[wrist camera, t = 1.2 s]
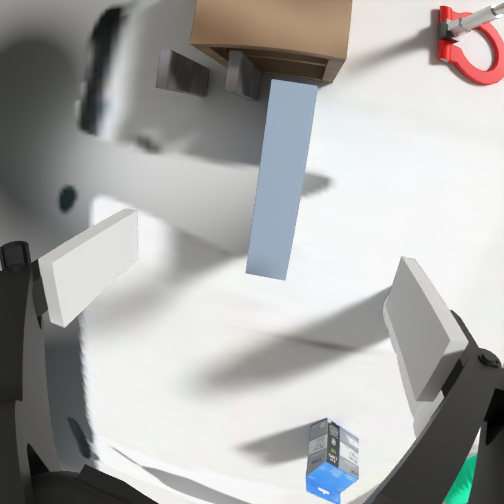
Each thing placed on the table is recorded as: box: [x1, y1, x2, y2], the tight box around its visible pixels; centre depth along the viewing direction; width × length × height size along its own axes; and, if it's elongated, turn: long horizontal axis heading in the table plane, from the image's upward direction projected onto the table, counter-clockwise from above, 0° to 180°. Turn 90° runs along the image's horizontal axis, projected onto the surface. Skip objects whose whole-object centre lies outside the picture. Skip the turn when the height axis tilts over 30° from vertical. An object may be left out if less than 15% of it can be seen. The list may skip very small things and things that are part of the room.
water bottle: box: [383, 295, 481, 504], centre depth 23 cm, size 7×7×25 cm
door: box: [246, 79, 318, 280], centre depth 26 cm, size 14×3×11 cm, turn 173°
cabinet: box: [156, 0, 352, 101], centre depth 20 cm, size 17×13×12 cm
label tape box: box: [306, 419, 359, 504], centre depth 40 cm, size 9×4×12 cm, turn 47°
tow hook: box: [438, 3, 504, 85], centre depth 17 cm, size 8×13×9 cm
